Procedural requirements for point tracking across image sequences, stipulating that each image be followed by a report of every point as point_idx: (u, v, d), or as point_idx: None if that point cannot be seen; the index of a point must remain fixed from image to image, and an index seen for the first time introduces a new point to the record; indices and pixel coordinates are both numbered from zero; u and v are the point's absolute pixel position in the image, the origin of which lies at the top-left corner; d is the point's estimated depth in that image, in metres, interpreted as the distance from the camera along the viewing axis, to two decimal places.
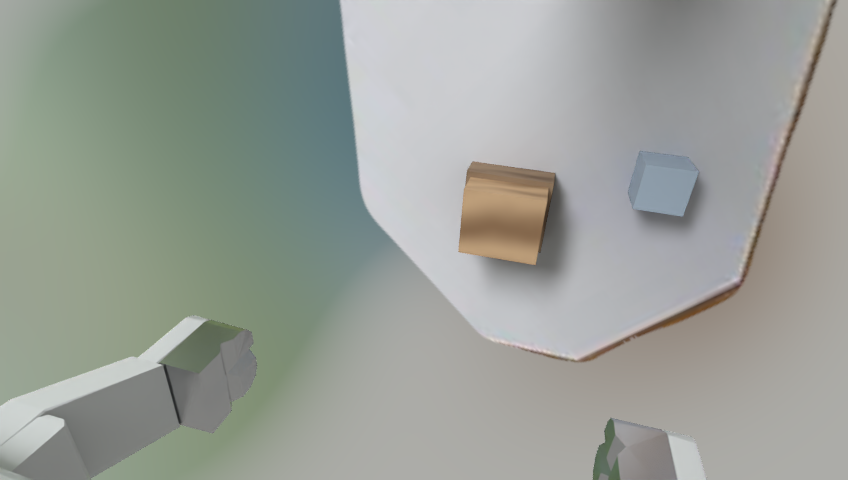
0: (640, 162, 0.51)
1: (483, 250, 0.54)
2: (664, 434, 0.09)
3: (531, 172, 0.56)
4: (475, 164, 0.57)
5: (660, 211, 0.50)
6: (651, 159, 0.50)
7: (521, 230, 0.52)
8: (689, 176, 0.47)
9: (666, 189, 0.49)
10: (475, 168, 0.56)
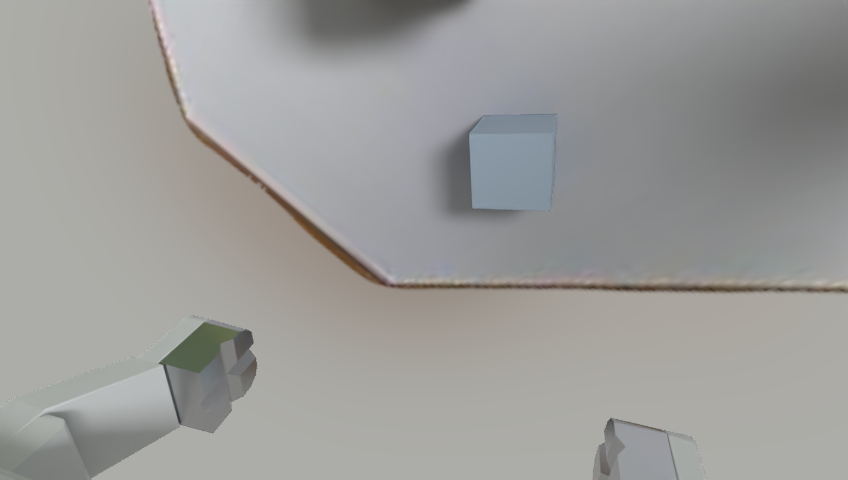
0: (543, 121, 0.30)
1: None
2: (663, 434, 0.09)
3: None
4: None
5: (473, 176, 0.30)
6: None
7: None
8: (540, 200, 0.30)
9: (512, 174, 0.29)
10: None
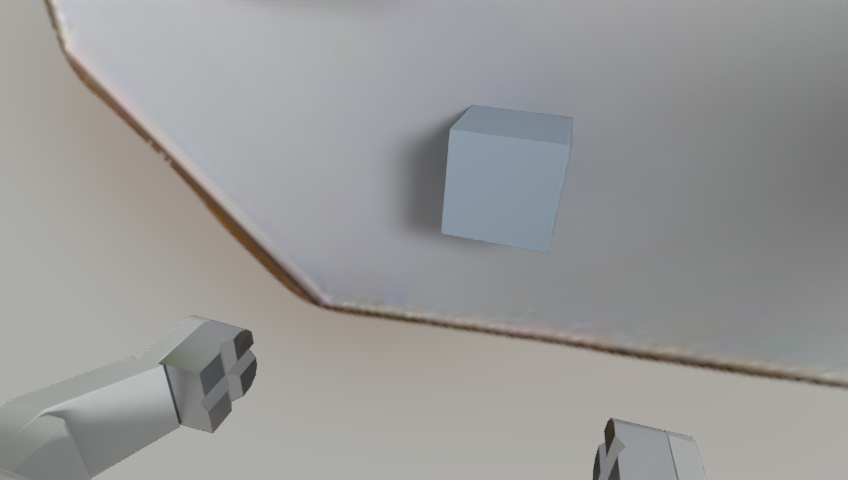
0: (555, 125, 0.21)
1: None
2: (663, 434, 0.09)
3: None
4: None
5: (448, 189, 0.21)
6: None
7: None
8: (537, 237, 0.21)
9: (504, 196, 0.20)
10: None
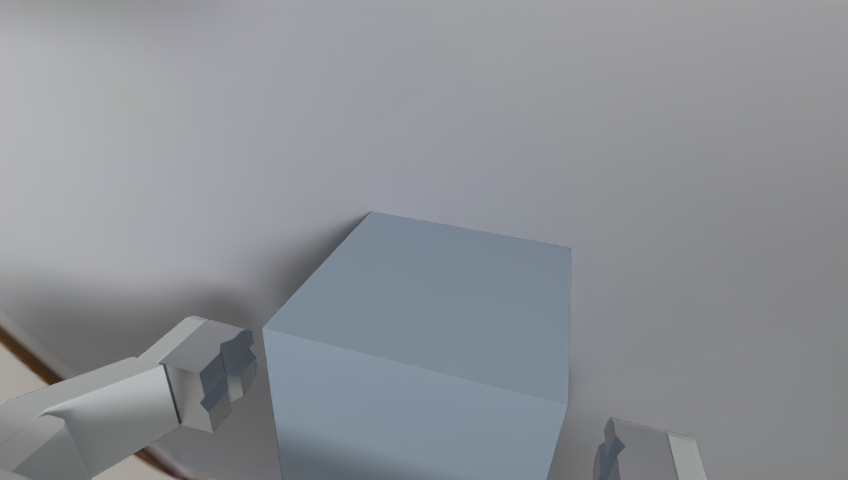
0: (533, 286, 0.09)
1: None
2: (663, 434, 0.09)
3: None
4: None
5: (285, 440, 0.09)
6: None
7: None
8: None
9: (407, 473, 0.09)
10: None
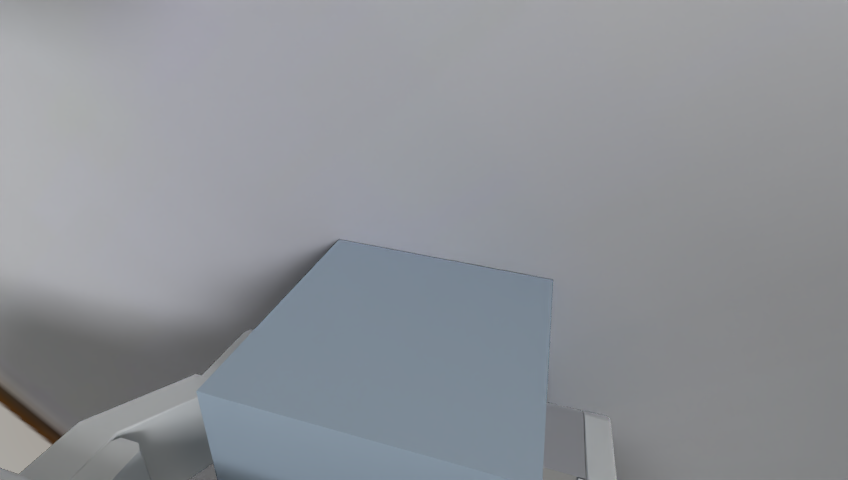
0: (510, 331, 0.09)
1: None
2: (580, 414, 0.09)
3: None
4: None
5: None
6: None
7: None
8: None
9: None
10: None
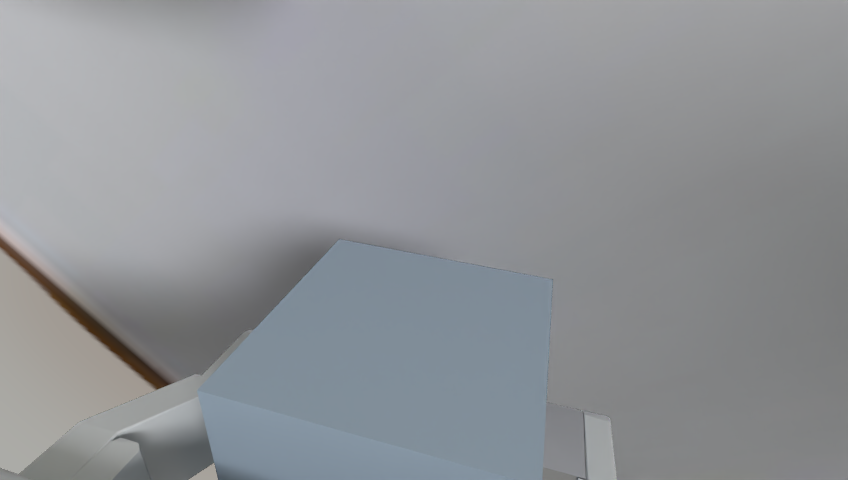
0: (510, 330, 0.09)
1: None
2: (580, 414, 0.09)
3: None
4: None
5: None
6: None
7: None
8: None
9: None
10: None
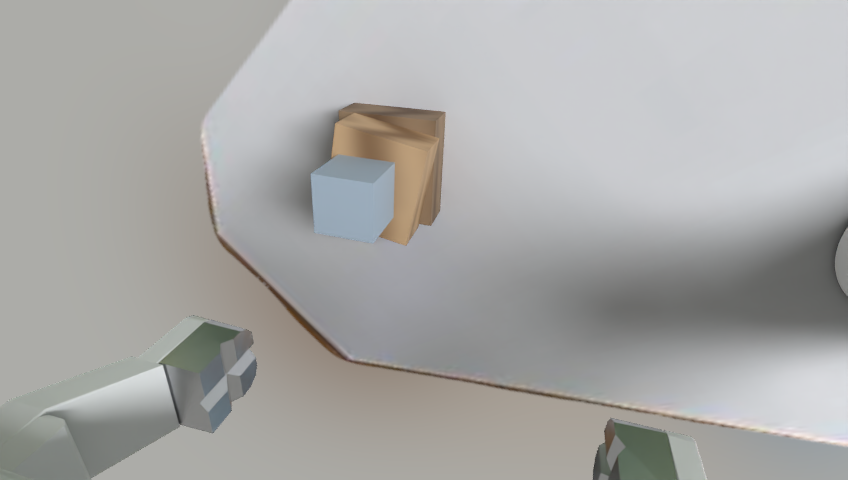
0: (378, 169, 0.37)
1: None
2: (664, 435, 0.09)
3: (439, 189, 0.46)
4: (442, 120, 0.43)
5: (314, 207, 0.36)
6: (383, 183, 0.36)
7: None
8: (365, 234, 0.36)
9: (344, 211, 0.36)
10: (439, 125, 0.41)
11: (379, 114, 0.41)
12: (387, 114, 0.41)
